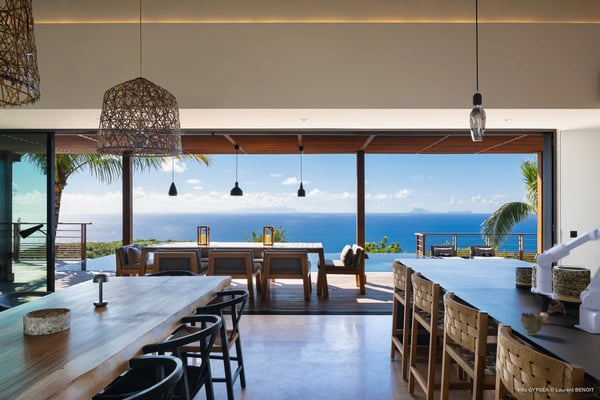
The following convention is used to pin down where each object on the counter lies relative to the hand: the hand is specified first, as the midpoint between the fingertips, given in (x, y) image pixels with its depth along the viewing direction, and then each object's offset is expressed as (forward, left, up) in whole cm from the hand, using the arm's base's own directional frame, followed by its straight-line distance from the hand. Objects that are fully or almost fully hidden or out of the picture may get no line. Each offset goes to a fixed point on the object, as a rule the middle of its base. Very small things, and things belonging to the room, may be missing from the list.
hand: (544, 311), depth 168 cm
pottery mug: (+15, -15, -5) cm, 22 cm away
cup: (-17, +17, -5) cm, 24 cm away
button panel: (0, +4, -5) cm, 6 cm away
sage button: (0, +4, -3) cm, 5 cm away
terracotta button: (0, 0, -2) cm, 2 cm away
